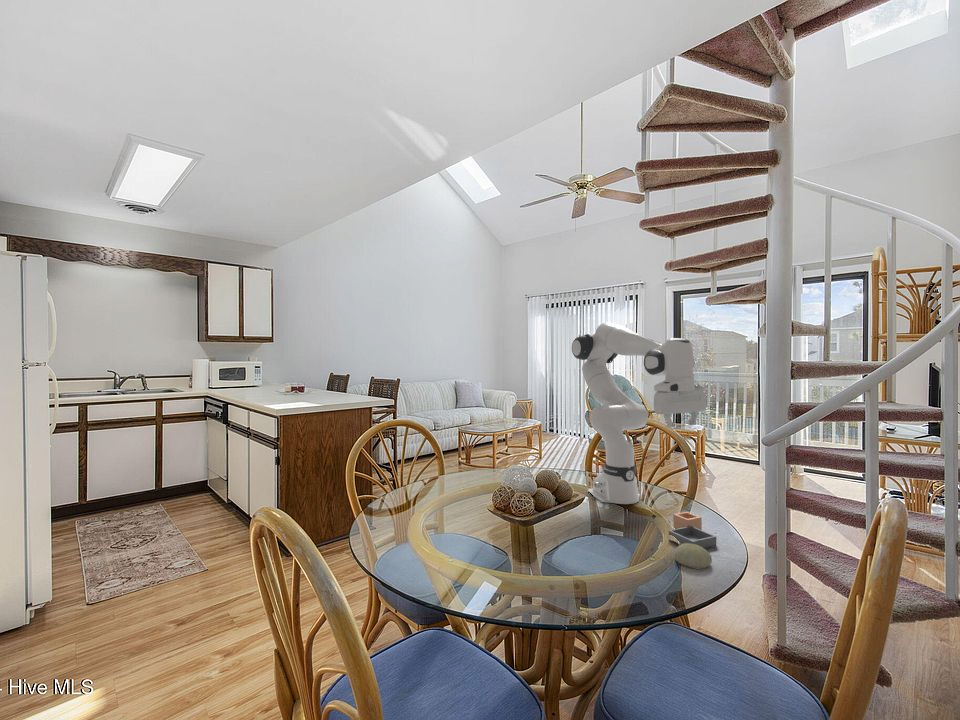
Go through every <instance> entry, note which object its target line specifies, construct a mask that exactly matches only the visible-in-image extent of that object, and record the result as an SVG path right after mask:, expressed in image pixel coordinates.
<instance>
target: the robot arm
mask: <svg viewBox="0 0 960 720" xmlns="http://www.w3.org/2000/svg"><path fill="white" fill-rule="evenodd" d="M571 352H572V354H573V357H574V358H575V359H577V360H581V361H584V363H583V364H582V367H581V371H582V375H583V378H584V382H586V385H587V387H588V389H589V391H590V394H591V395H592V397H593V399H594V400H595V402H597V403H598V404H600V405H598V406H596V407H594V408H592V410H591V411H590V414H589V422H590V425H591V426H592V428H593V429H594V430H595V431H596V432H598V434H599V435H600V436H601V438H602V440H603V443H604V447H605V449H604V450H605V463H601V464H602V468H603V470H602V472H601V473H600V474H598V476H596V477H595V478H594V479H593V483H592V485H593V487H591V488H588V489H587V492H588V491H589V492H590V493H591V494H592V495H593V496H592V495H591V494H590V493H589V494H590V495H591V496H592V497H594V498H595V499H597V500H598V501H599V502H602V503H611V504H619V505H631V504H637V503H638V502H640V497H641V494H640V493H639V489H638V479H637V477H636V475H637V473H636V472H637V468H636V465H635V447H634V445H633V444H632V443H631V442H630V441H629V440H627V439H626V438H625V437H624V431H634V430H637V429H640V428H644V427H645V426H646V425H647V424H648V421H649V412H648V410H647V408H646V407H645V406H644V405H642V404H640V403H638V402H636V401H634V400H633V399H632V398H631V397H629V396H628V395H626V393H624V392H623V390H622V389H620V387H619V385H618V384H617V382H616V380H615V379H614V377H613V376H612V374H611V372H610V371H609V369H608V367H607V364H611V363H613V361H614V359H616V357H617V356H618V355H620V356H624V357H625V356H629V357H630V356H641V357H643V356H644V358H643V367H644V369H645V371H646V372H647V374H649V375H651V376H665V379H664V380H663V381H661V382H659V383H657V384H654V386H653V390H654V391H655V393H654V395H653V410H654V412H655V414H657V415H663V419H664V420H665V422H666V427H667V428H675V421H672V416H673V414H676V415H677V414H685V413H686V414H687V413H688V414H689V415H690V418H689V419H688V420H687V423H688V424H687V425H688V426H696V420H697V418H698V417H699V412H705V411H706V410H707V406H708V405H707V398H706V394H705V389H704V388H703V386H702V385H701V384H695V374H694V370H693V369H694V367H695V358H694V357H695V356H694V349H693V345H692V342H691V340H689V339H687V338H680V337H679V338H678V337H670V338H667V339H666V340H665V342H664V343H661V342H658V341H656V340H653V339H651V338H648V337H646V336H643V335H641V334H639V333H637V332H635V331H633V330H631V329H629V328H627V327H625V326H623V325H620V324H617V323H613V322H610V321H609V322H601V323H600V324H599V325H598V326H597V327H596V329H595V333H594V334H590V333H586V334H583V335H579V336H577V337H576V338H574V340H573V341H572V343H571ZM585 360H586V361H585Z"/></svg>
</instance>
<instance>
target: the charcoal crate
mask: <svg viewBox="0 0 960 720" xmlns="http://www.w3.org/2000/svg"><path fill="white" fill-rule="evenodd" d="M669 535H672V536H674V537H675V538H676V539H677V540H678V541H679V542H680V543H681V544H684V543H689V544H696V545H698V546H701V547H702V548H704V549H705V550H708V549H711V548H717V536H716V535H713V534H711V533H708V532H706V531H704V530H700V529H697V528H695V527H693V526H689V527H684V528H679V529H674V528H673V529H670V530H668V536H669Z"/></svg>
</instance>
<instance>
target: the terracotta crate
mask: <svg viewBox="0 0 960 720" xmlns="http://www.w3.org/2000/svg"><path fill="white" fill-rule="evenodd" d="M672 516H673V518H672V520H673V521H672V522H673V527H674V528H675V529H679V528H684V527H689V526H693V527H695V528H697V529H700V530H702V529H703V527H702V517H701V516H699V515H697V514H694V513H692V512H688V511H683V512H678V513H673V514H672ZM673 527H672V528H673ZM674 528H673V529H674ZM702 531H703V530H702Z"/></svg>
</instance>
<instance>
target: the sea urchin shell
mask: <svg viewBox="0 0 960 720" xmlns="http://www.w3.org/2000/svg"><path fill="white" fill-rule="evenodd" d="M707 550H708V549H704V548H702V547H701V546H698V545H696V544H689V543H684V544H681V545H678V546H677V547H676V548H675V551H674V556H675V557H674V558H675V559H676V561H677V562H678V564H680V565H683V566H685V567H688V568H691V569H697V570H700V569H701V570H702V569H705V568H709V566H710V565H711V564H713V563H712V562H713V558H712V556H711V554H710V552H708V551H707Z"/></svg>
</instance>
